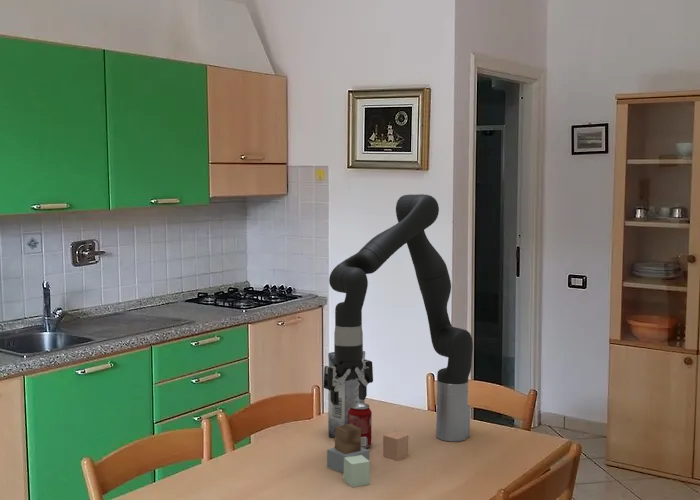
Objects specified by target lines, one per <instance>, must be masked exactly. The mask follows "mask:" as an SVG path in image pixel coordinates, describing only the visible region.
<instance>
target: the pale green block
mask: <svg viewBox="0 0 700 500" xmlns="http://www.w3.org/2000/svg"><path fill="white" fill-rule="evenodd" d="M370 478H371V461H370V459H369V460H367V459H366V458H365V457H364V456H362V455H358V456H352V457H345V458H344V473H343V481H344V482H345V483H346V484H348V485H349V486H350V487H351V488H355V487H362V486H369V485H370V483H371V482H370V481H371V479H370Z"/></svg>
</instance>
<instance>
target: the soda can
mask: <svg viewBox="0 0 700 500" xmlns="http://www.w3.org/2000/svg"><path fill="white" fill-rule="evenodd" d="M350 407H351V408H350V409H349V411H348V424H352V425H354V426H356V427H358V428H360V429H361V447H362V448H365V449H367V448H369V447H370V446H371V445H372V418H373V417H372V415H373V413H372V410H371V408H370V404H368V403H365V402H364V403H354V404H351V405H350Z"/></svg>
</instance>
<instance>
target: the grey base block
mask: <svg viewBox="0 0 700 500" xmlns="http://www.w3.org/2000/svg"><path fill="white" fill-rule="evenodd" d="M358 455H362V456H364V457H365V458H366V459H367V460H369V461H370V449H367V448H362V447H361V451H357V452H353V453H348V454H344V453H342V452H340V451H338V450H336V449H335V446H334V447H331V448H327V449H326V467H327V468H329V469H331V470H334V471H335V472H336V471H337V472H340V473H341V474H344V458H345V457H352V456H358Z"/></svg>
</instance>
